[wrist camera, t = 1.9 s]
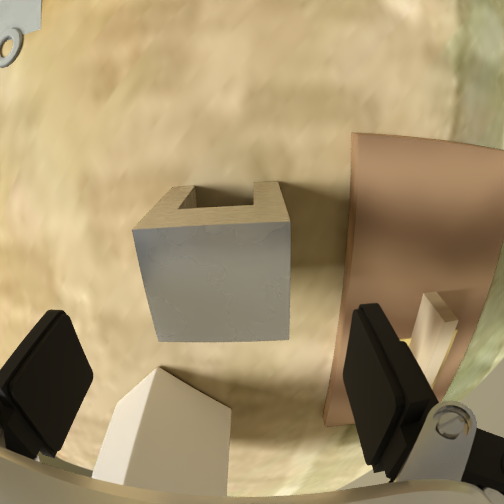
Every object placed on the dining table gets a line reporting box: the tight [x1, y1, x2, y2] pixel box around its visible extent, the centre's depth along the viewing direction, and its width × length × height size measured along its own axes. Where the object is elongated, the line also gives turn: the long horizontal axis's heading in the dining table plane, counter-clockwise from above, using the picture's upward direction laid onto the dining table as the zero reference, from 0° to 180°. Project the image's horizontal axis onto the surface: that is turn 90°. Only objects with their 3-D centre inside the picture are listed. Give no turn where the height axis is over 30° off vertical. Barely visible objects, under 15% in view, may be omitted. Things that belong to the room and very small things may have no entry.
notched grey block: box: [132, 181, 291, 342], centre depth 14 cm, size 5×5×6 cm
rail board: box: [323, 133, 504, 427], centre depth 17 cm, size 22×11×4 cm, turn 3°
